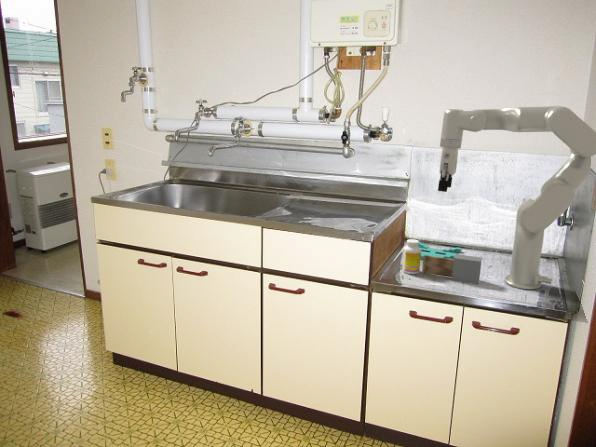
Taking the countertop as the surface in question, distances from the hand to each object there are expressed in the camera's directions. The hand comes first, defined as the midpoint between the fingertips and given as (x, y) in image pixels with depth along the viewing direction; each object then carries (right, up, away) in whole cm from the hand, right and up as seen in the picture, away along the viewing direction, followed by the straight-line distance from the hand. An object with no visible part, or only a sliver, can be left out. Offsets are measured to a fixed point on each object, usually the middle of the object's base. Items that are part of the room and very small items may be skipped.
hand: (444, 189), depth 184 cm
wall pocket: (+8, -35, +1) cm, 36 cm away
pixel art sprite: (+4, -27, +30) cm, 41 cm away
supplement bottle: (-11, -32, +9) cm, 35 cm away
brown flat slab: (0, -33, +5) cm, 34 cm away
